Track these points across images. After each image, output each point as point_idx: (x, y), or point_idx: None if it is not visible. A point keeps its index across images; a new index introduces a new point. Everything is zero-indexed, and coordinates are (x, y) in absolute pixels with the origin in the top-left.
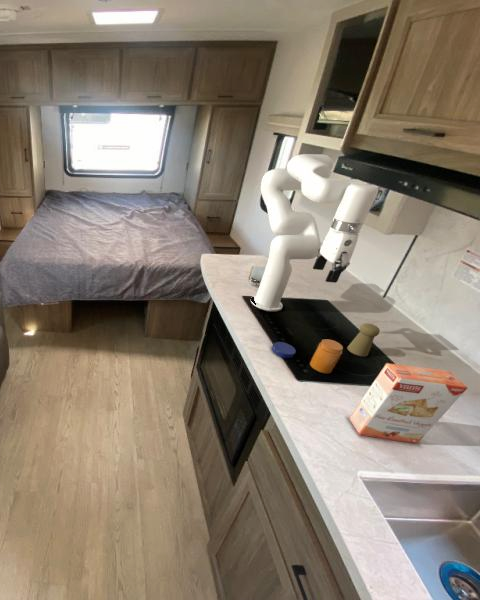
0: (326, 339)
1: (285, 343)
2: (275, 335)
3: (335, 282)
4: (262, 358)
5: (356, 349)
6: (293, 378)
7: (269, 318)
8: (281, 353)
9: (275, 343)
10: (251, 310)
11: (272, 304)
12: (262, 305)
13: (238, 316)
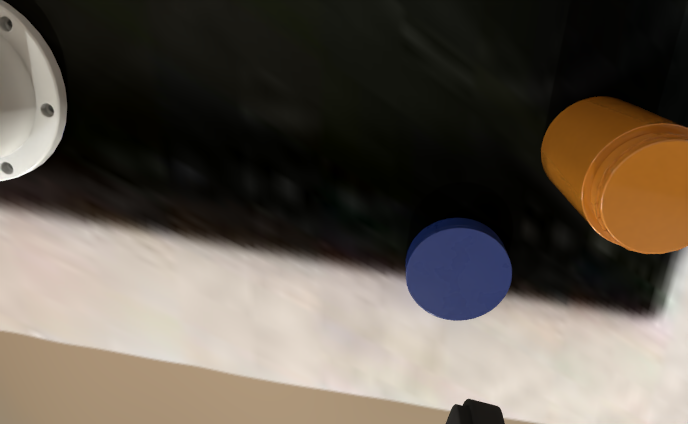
0: (605, 199)
1: (422, 248)
2: (316, 219)
3: (490, 413)
4: (489, 374)
5: None
6: (638, 324)
7: (148, 157)
8: (491, 306)
9: (417, 297)
10: (73, 214)
11: (19, 104)
12: (21, 145)
13: (148, 311)
